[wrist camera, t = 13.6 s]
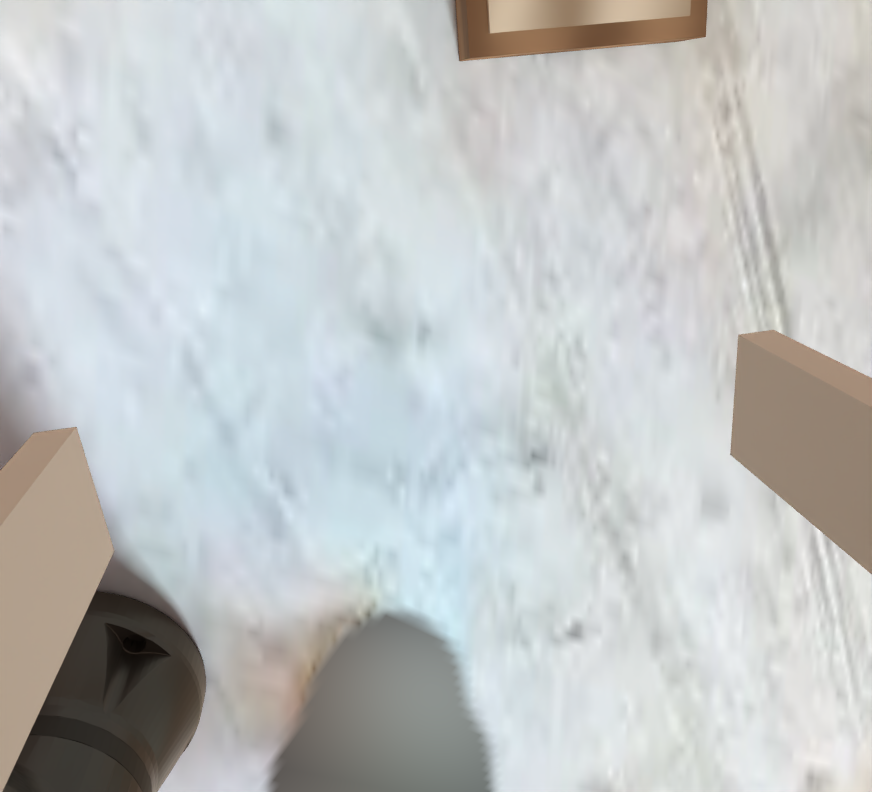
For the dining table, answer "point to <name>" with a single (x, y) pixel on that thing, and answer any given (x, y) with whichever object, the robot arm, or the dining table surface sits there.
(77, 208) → the dining table surface
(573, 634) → the dining table surface
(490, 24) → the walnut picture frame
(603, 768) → the dining table surface
